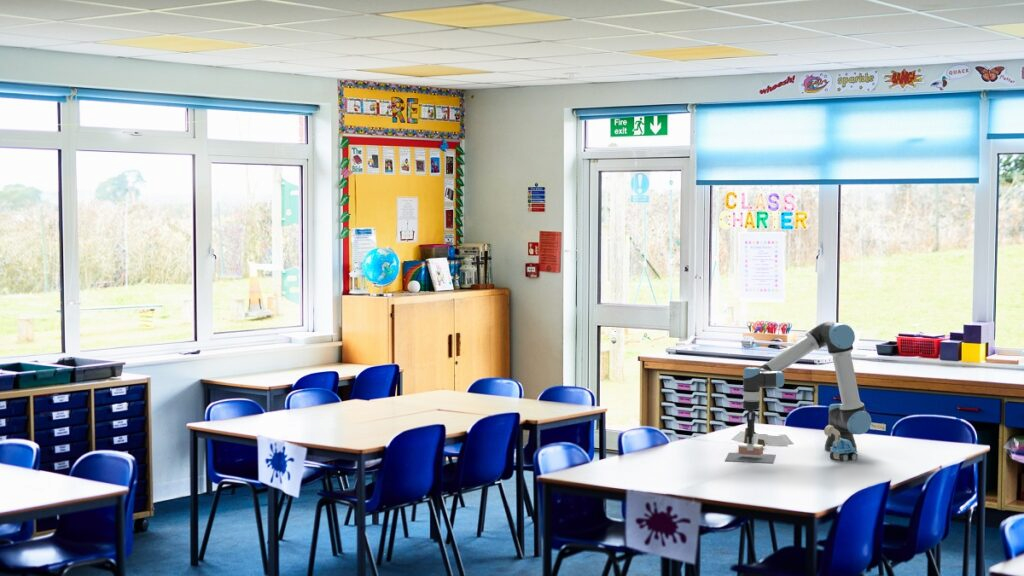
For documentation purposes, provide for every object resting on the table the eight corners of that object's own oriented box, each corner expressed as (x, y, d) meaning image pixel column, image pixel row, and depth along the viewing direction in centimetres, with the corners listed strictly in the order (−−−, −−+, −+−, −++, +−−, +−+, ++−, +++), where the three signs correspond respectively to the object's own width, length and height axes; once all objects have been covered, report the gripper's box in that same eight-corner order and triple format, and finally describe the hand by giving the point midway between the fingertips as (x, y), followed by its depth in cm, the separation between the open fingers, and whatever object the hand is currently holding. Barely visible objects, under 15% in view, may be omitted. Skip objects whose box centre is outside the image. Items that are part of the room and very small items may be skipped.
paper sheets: (805, 444, 620) (806, 433, 620) (786, 449, 606) (786, 438, 605) (745, 437, 644) (745, 426, 644) (725, 441, 629) (725, 430, 629)
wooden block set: (753, 454, 589) (755, 433, 588) (736, 451, 593) (738, 430, 593) (765, 449, 605) (767, 428, 604) (748, 446, 609) (750, 426, 608)
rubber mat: (775, 456, 583) (775, 454, 583) (773, 464, 562) (773, 462, 562) (728, 454, 589) (728, 452, 589) (724, 462, 567) (724, 460, 567)
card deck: (742, 451, 580) (742, 443, 580) (762, 453, 575) (763, 445, 575) (738, 453, 575) (738, 445, 575) (759, 455, 570) (759, 446, 570)
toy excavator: (818, 460, 572) (819, 424, 571) (845, 458, 579) (846, 422, 579) (831, 463, 564) (831, 426, 563) (858, 461, 572) (859, 424, 571)
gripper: (744, 397, 585) (744, 445, 586) (741, 402, 565) (741, 452, 566) (760, 398, 583) (760, 446, 584) (758, 403, 564) (757, 453, 565)
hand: (750, 449), depth 575 cm, fingers closed on card deck, 7 cm apart
